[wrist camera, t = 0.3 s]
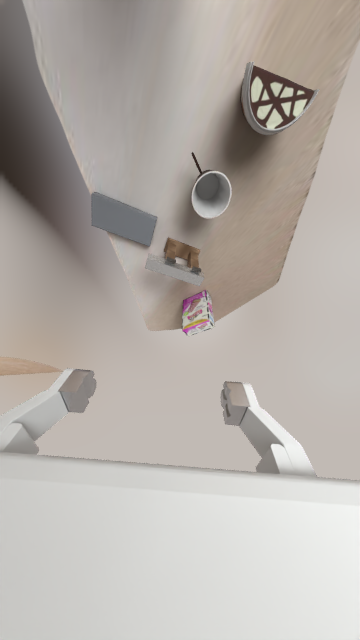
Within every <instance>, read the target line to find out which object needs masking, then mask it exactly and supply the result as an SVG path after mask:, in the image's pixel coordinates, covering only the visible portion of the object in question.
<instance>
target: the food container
mask: <svg viewBox="0 0 360 640" xmlns="http://www.w3.org/2000/svg"><path fill="white" fill-rule="evenodd" d="M253 64H254V62H249V63H247V66H246V70H245V74H244V81H243V85H242V92H241V105H242V111H243V114H244V116H245V118H246V120H247V121H248V123H249V124H250V126H251V127H252V128H253V129H254V130H255V131H256V132H258V133H260V134H263V135H273V134H277V133H279V132H281V131H283V130H285V129H286V128H288V127H289V126H291V125H292V124H293V123H295V122H296V121H297V120H298V119H299V118H300V117H301V116H302V115H303V114H304V112H305V111H306V110H307V109H308V107H309V106H310V104H311V103H312V101H313V100H314V98H315V97H316V95H317V93H318V91H319V90H311V89H308V88H305V87H303V86H301V85H298V84H296V83H294V82H292V81H290V80H288V79H286V78H283V77H281V76H278V75H275V74H273V73H271V72H268V71H266V70H264V69H261V68H259V67H256V66H254V65H253Z"/></svg>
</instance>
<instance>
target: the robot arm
mask: <svg viewBox="0 0 360 640" xmlns="http://www.w3.org/2000/svg"><path fill="white" fill-rule="evenodd" d="M93 376H94V372H93V371H90V370H80V369H70V368H67V369H66V370H64V371H63V373H62V374H61V375H60V376H59V377H58V379H57V380H56V381H55V382H54V383H53V385H52V386H51V387H50V388H49V389H48V391H43V392H42V393H40V394H38V395H36V396H35V397H33V398H31V399H29V400H28V401H26V402H24V403H22V404H20V405H19V406H17V407H15V408H13V409H12V410H10V411H8V412H6V413H5V414H3V415H1V416H0V640H360V480H348V479H335V478H323V477H317V475H316V473H315V471H314V470H313V467H312V466H311V464H310V462H309V460H308V458H307V456H306V454H305V452H304V450H303V448H302V446H301V445H300V444H299V443H298V442H297V441H296V440H295V439H294V438H293V437H292V436H291V435H290V434H289V433H288V432H287V431H286V430H285V429H284V428H283V427H282V426H281V425H280V424H279V423H277V422H276V421H275V420H274V419H273V418H272V417H271V416H270V415H269V414H268V413H267V412H266V411H265V410H264V409H263V408H260V406H259V404H258V401H257V399H256V396H255V394H254V391H253V389H252V386H251V384H249V383H241V382H224V385H223V386H224V389H223V390H222V392H221V405H222V407H223V408H224V411H223V416H224V421H225V424H228V425H236V426H239V427H240V428H241V429H242V431H243V432H244V434H245V435H246V437H247V438H248V439H249V441H250V442H251V444H252V445H253V446H254V448H255V449H256V450H257V452H258V453H259V455H260V456H261V457H262V459H261V461H260V463H259V464H258V465H257V467H256V470H257V472H248V471H235V470H222V469H210V468H198V467H185V466H172V465H160V464H148V463H135V462H123V461H110V460H98V459H84V458H72V457H59V456H47V455H37V453H38V451H39V448H38V447H37V445H36V444H35V442H34V441H35V440H37V439H38V438H39V437H40V436H42V435H43V434H44V433H45V432H46V431H47V430H49V429H50V428H51V427H52V426H53V425H54V424H56V423H57V422H58V421H59V420H60V419H62V418H63V417H64V416H65V415H67V414H68V412H78V413H83V412H84V410H85V408H86V407H87V405H88V403H89V400H88V398H90V397H91V396H92V395H93V394H94V392H95V389H96V380H95V379H94V378H93Z"/></svg>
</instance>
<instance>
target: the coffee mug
mask: <svg viewBox="0 0 360 640" xmlns="http://www.w3.org/2000/svg"><path fill="white" fill-rule="evenodd" d="M191 154H192V156H193V158H194V161H195V163H196V165H197V168H198V170H199V172H200V173H201V174H200V175H199V176H198V178H197V180H196V182H195V185H194V187H193V191H192V205H193V208H194V210H195V211H196V213H197V214H198V215H200V216H201V217H203V218H208V219H210V218H215V217H217V216H219V215H221V214H222V213H223V212H224V211H225V210H226V208H227V207H228V205H229V203H230V200H231V194H232V189H231V184H230V181H229V179H228V178H227V177H226V175H224V174H223V173H221V172H219V171H213V170H206V171H204V172H202V171H201V169H200V166H199V164H198V162H197V160H196V157H195V155H194V153H193V152H192V153H191Z"/></svg>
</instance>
